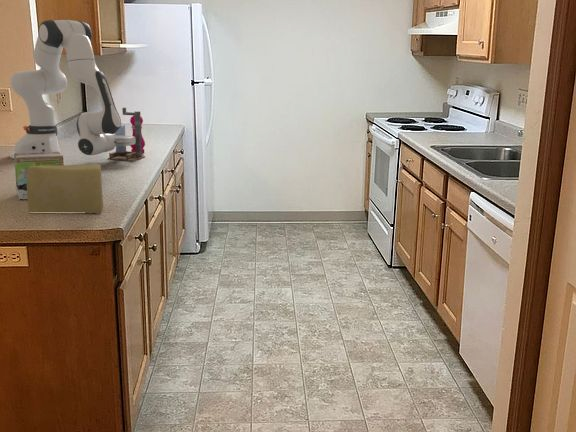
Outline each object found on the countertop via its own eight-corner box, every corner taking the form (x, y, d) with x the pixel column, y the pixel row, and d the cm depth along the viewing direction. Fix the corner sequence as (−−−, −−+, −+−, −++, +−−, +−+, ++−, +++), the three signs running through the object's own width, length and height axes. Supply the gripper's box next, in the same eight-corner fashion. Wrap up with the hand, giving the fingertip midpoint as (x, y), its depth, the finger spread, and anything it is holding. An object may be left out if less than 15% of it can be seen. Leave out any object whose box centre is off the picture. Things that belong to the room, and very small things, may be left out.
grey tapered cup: (118, 152, 280) (116, 126, 277) (114, 151, 284) (113, 125, 280) (127, 152, 283) (126, 126, 279) (124, 150, 286) (122, 124, 283)
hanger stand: (133, 161, 279) (131, 110, 272) (107, 159, 282) (104, 109, 275) (145, 157, 289) (143, 108, 283) (120, 155, 292) (118, 106, 286)
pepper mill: (141, 154, 296) (139, 113, 291) (127, 153, 297) (125, 112, 292) (147, 152, 303) (146, 111, 297) (134, 151, 304) (132, 110, 299)
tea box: (19, 201, 206) (15, 157, 202) (16, 194, 214) (12, 152, 210) (66, 197, 213) (63, 154, 209) (62, 190, 221) (59, 150, 217)
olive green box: (26, 217, 187) (21, 169, 183) (31, 209, 196) (27, 163, 192) (101, 215, 192) (98, 168, 188) (103, 207, 201) (101, 162, 197)
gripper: (126, 135, 266) (141, 131, 279) (84, 132, 271) (101, 129, 284) (127, 150, 268) (142, 145, 281) (85, 147, 272) (102, 142, 285)
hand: (121, 137), depth 282 cm, fingers closed on grey tapered cup, 5 cm apart
